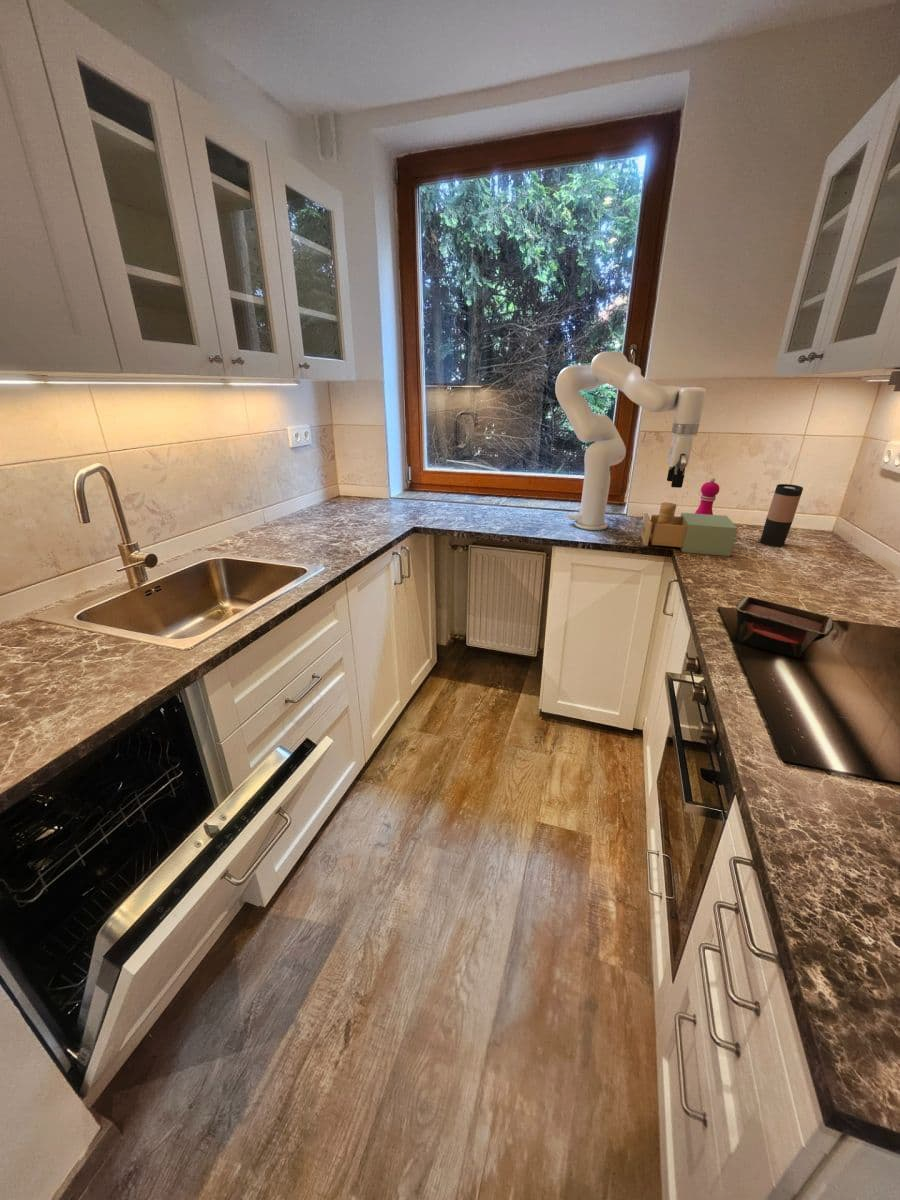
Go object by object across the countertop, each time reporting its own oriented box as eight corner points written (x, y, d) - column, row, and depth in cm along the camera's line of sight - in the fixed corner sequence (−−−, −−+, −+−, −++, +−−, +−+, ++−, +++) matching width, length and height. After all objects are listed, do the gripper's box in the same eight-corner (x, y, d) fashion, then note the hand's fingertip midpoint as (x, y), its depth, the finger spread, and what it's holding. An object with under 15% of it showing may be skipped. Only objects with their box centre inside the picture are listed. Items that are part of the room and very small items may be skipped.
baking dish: (745, 625, 117) (748, 588, 113) (835, 642, 104) (843, 602, 100) (723, 650, 109) (726, 611, 105) (818, 673, 96) (826, 629, 92)
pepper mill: (713, 534, 175) (728, 480, 166) (694, 534, 175) (707, 479, 166) (704, 528, 182) (718, 475, 173) (686, 528, 182) (698, 475, 173)
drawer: (630, 544, 162) (634, 522, 158) (628, 532, 173) (631, 512, 170) (686, 549, 158) (691, 526, 154) (680, 536, 169) (684, 515, 166)
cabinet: (682, 552, 158) (688, 524, 154) (675, 538, 171) (681, 512, 166) (729, 556, 155) (737, 528, 150) (719, 542, 167) (726, 515, 163)
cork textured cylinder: (655, 539, 163) (662, 505, 158) (653, 535, 167) (660, 502, 162) (670, 540, 162) (677, 506, 157) (668, 536, 166) (675, 503, 161)
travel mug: (762, 538, 171) (780, 482, 162) (787, 543, 166) (806, 486, 157) (756, 543, 166) (773, 486, 158) (781, 548, 161) (800, 490, 153)
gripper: (668, 426, 157) (658, 478, 165) (676, 432, 142) (665, 489, 150) (692, 427, 155) (681, 479, 163) (703, 433, 140) (691, 490, 148)
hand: (673, 484), depth 156 cm, fingers open, 9 cm apart
